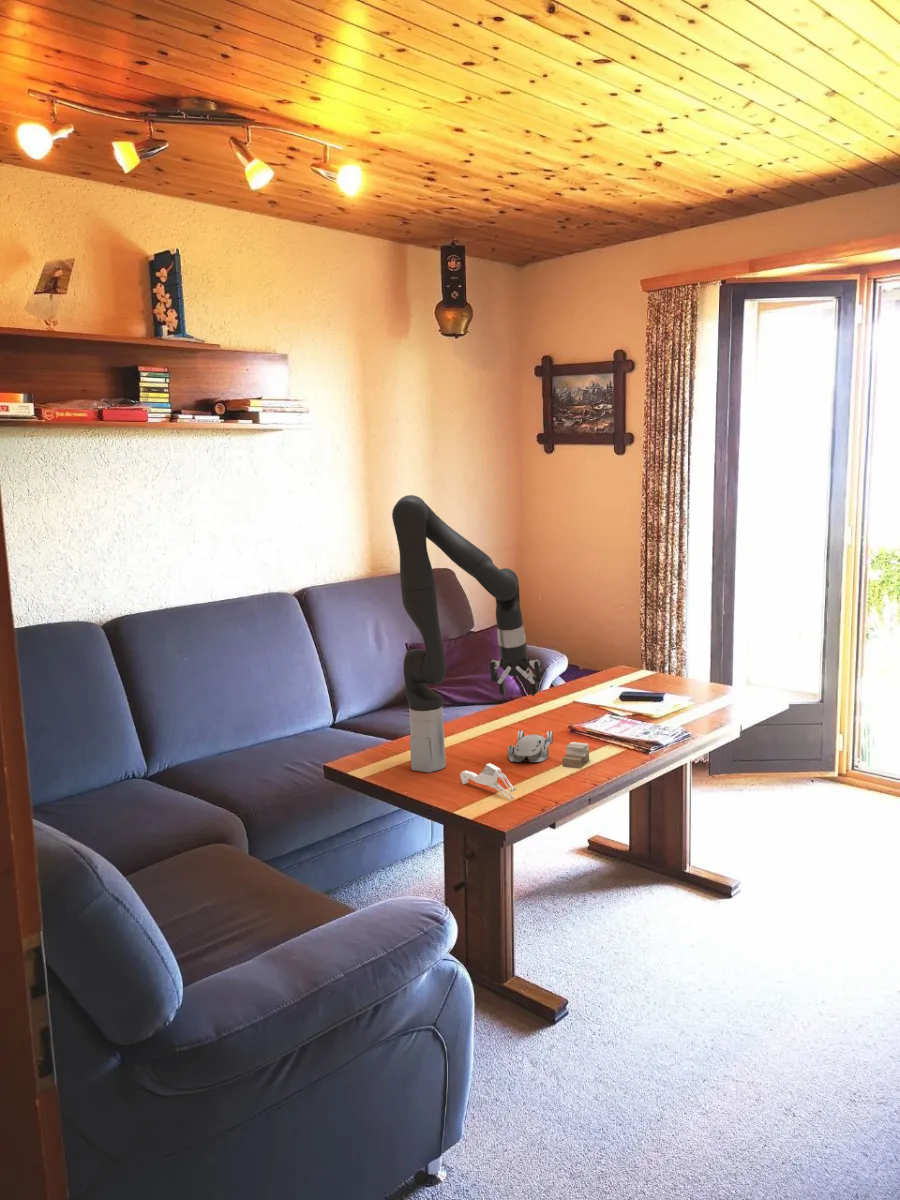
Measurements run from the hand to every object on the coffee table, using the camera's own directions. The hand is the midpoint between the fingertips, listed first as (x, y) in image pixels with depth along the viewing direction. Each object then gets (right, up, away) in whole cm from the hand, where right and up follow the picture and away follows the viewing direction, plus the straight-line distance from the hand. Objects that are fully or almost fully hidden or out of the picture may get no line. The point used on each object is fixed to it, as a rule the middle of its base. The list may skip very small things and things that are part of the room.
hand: (518, 694), depth 257 cm
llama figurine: (-10, -23, -22) cm, 33 cm away
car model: (+4, -18, +8) cm, 20 cm away
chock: (+15, -19, -5) cm, 25 cm away
